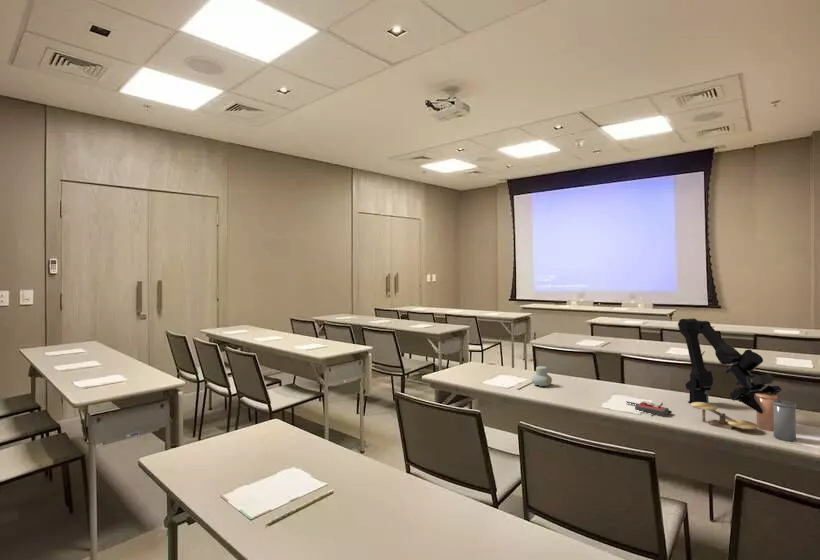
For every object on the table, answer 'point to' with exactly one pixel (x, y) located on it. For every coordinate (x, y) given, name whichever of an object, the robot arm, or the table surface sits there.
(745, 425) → the balance
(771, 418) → the terracotta cup
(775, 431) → the charcoal cup
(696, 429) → the table surface
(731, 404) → the table surface
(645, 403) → the walkie-talkie
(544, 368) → the air freshener
